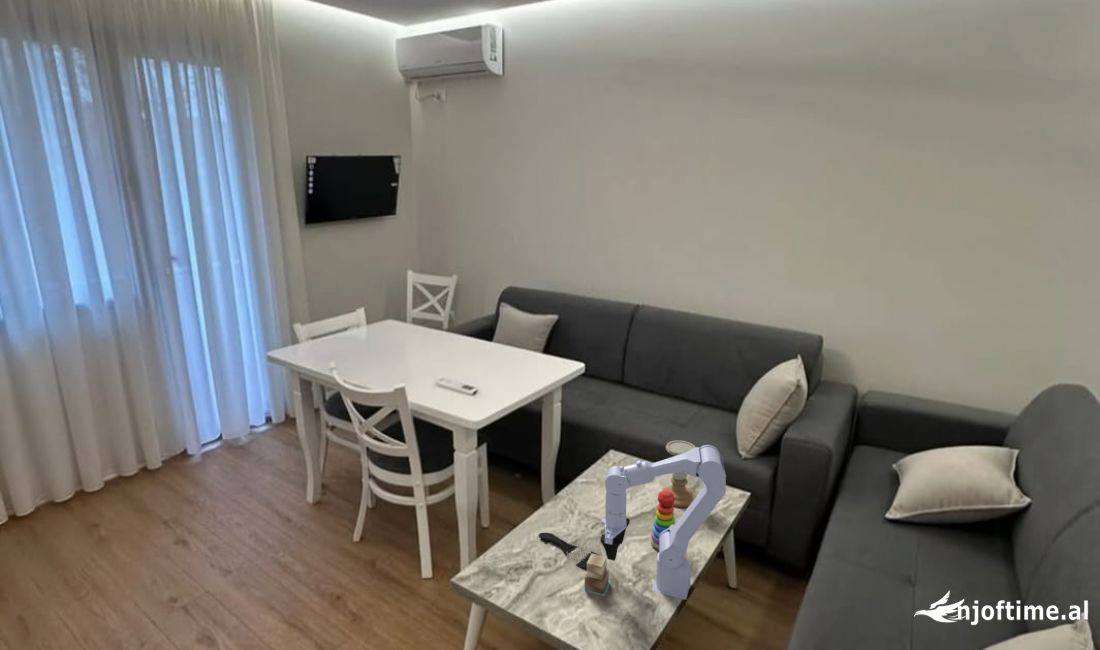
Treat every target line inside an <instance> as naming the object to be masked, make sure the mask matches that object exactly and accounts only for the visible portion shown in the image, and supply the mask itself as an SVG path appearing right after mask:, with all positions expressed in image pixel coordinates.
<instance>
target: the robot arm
mask: <svg viewBox="0 0 1100 650" xmlns="http://www.w3.org/2000/svg"><path fill="white" fill-rule="evenodd" d="M695 447H696V448H693V449H691V450H689V451H687V452H686V453H683V454H680V455H677V456H675V455H673V456H671V457H668V458H665V459H662V460H659V461H656V462H653V463H652V462H649V461H648V460H643V461H642V460H636V462H634V463H631V464H629V465H628V464H627V465H620V466H619V465H613V466H611V467H609V469H607V470H606V475H605V481H604V483H605V484H604V486H605V491H606V492H605V517H603V518H601V521H600V523H601V524H602V525H604V532H605V535H604V534H601V536H600V538H599V539H600V540H599V541H600V543H601V545H602V546H603V548H604V550H605V554H606V557H607V560H610V561H615V560H616V558H617V554H618V549H619V547H620V545H622V544H623V542H624V539H625V534H626V530H627V528H628V526H629V525H630V521H631V520H630V519H629V518H627V492H626V491H627V490H629V489H630V488H633V487H637V486H642V485H645V484H649V483H652V482H653V481H654V479H655V478H656V477H659V476H664V475H665V476H666V475H670V474H671V475H672V473H676V472H681V471H686V472H687V474H689V475H691V477H694V478H697V475H698V476H699V477H698V478H700V480H701V481H702V482H703V483H704V486H703V487H702V488H701V490H700V491H699V492H698V494H697V495H696V498H695V499H694V500H693V502H692V503H691V504H690V506H687V508H686V510H685V511H684V513H683V514H682V515H681V516H680V518H679V519H678V520H677V522H676V523H674V524H675V525H671V526H670V527H669V528H668V529H666V530H664V531H662V532H661V533H660V535H659V550H658V551H659V552H658V553H657V555H656V569H655V579H654V582H653V586H652V589H651V590H652V592H655V593H659V594H664V595H666V596H667V595H668V596H669V597H673V598H678V599H682V600H687V597H688V594H689V589H690V588H691V574H692V572H691V570H692V563H691V562H690V561H688V560H686V559H684V555H685V554H686V553H687V550H688V547H689V542H690V540H691V539H692V538H693V536H694V535H695V534H696V533H697V531H698V530H699V529H700V528H701V526H702V524H704V522H705V521H706V519H707V518H708V517H709V515H710V514H711V513H712V511H713V510H714V509H715V508H716V506H717V505H718V504H719V502H720V501H721V500H722V498H723V497H724V496H725V495H726V492H727V485H726V484H727V483H726V481H727V479H726V478H727V475H726V471H725V467H724V460H723V457H722V456H721V453H720V451H719V449H718V448H717V447H715V446H713V445H711V444H706V445H705V444H704V445H702V446H700V447H699V446H698V447H697V446H695Z"/></svg>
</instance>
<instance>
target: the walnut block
mask: <svg viewBox="0 0 1100 650" xmlns="http://www.w3.org/2000/svg"><path fill="white" fill-rule="evenodd" d="M609 574H610V573H609V569H608V568H606V572H605V574H604V577H603V579H602V580H599V579H595V578H591V577H587V572H586V574H585V575H584V585H585V589H586V590H589V591H593V592H597V593H600V594H603V593H604V591H605V588H606V586H607V584H608V581H609V580H610V579H609Z"/></svg>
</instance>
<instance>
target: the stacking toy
mask: <svg viewBox="0 0 1100 650" xmlns="http://www.w3.org/2000/svg"><path fill="white" fill-rule="evenodd" d="M657 501H658V504H657V509H656V511H655V517H654V522H653V527H652V531H651V534H650V535H651V537H650V544H651V546H652V547H653V548H654V549H656V550H658V551H659V535H660V533H661V532H662V531H664V530H666V529H668V528H669V527H670V526H671V525H675V524H676V523H675V521H676V520H675V517H674V516H675V513H674V510H675V508H674V507H675V506H673V505H672V504H673V503H674V495H673V493H672V492H671V491H669V490H663V489H662V490H661V491H659V493H658V494H657Z"/></svg>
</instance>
